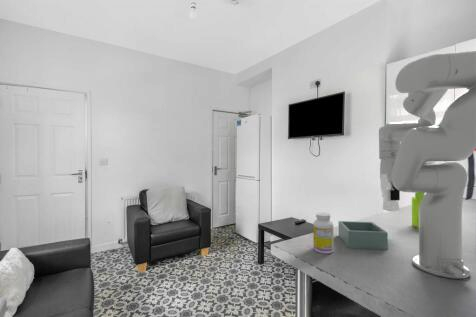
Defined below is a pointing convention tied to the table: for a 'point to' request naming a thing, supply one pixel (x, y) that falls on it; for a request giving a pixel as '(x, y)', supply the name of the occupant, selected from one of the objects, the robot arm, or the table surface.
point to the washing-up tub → (363, 235)
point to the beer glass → (388, 195)
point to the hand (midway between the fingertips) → (390, 198)
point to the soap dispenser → (416, 208)
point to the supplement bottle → (323, 234)
